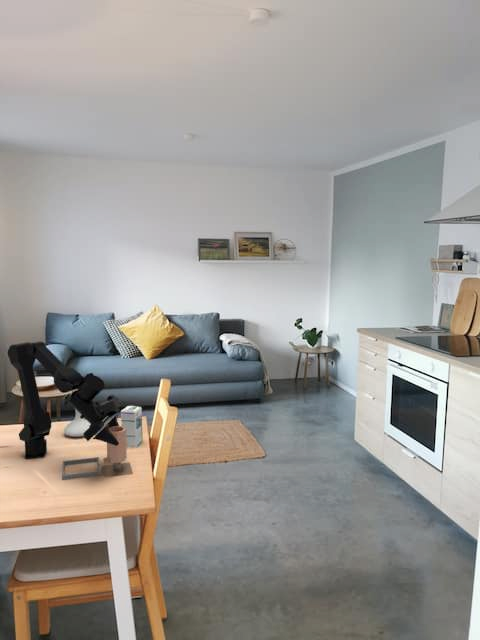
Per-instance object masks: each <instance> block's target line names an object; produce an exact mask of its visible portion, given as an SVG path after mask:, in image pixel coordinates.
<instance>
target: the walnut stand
mask: <svg viewBox="0 0 480 640" xmlns="http://www.w3.org/2000/svg"><path fill="white" fill-rule="evenodd" d="M101 468H102V477H103V478H111V477H112V478H113V477H120V476H127V475H133V473H134V472H133V469H132V465H131V462H119V463H111V464H105V465H102V466H101Z"/></svg>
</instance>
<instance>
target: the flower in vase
mask: <svg viewBox="0 0 480 640" xmlns="http://www.w3.org/2000/svg"><path fill="white" fill-rule="evenodd" d="M73 392H74V390H73V391H71V392H68V393H67V394H66V395H65V396H64V397H66V396H67V395H68V394H72V393H73ZM64 397H63V400H65V399H64ZM74 410H75V418H74V419H73V420H72V421H71V422H69V423H68V424H67V425H66V426H65V427H64V429H63V433H64V434H65V435H67V436H68V437H69V436H70V437H77V438H78V437H84V432H85V431H86V430H87V429H88V428H89V426H90V425H91V424H90V423H89V422H88V421H87V420H86V419H85V418H83V419H81V418H80V416H81V414H80V413H79V412H78V411H77V410H76V409H75V408H74Z"/></svg>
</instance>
